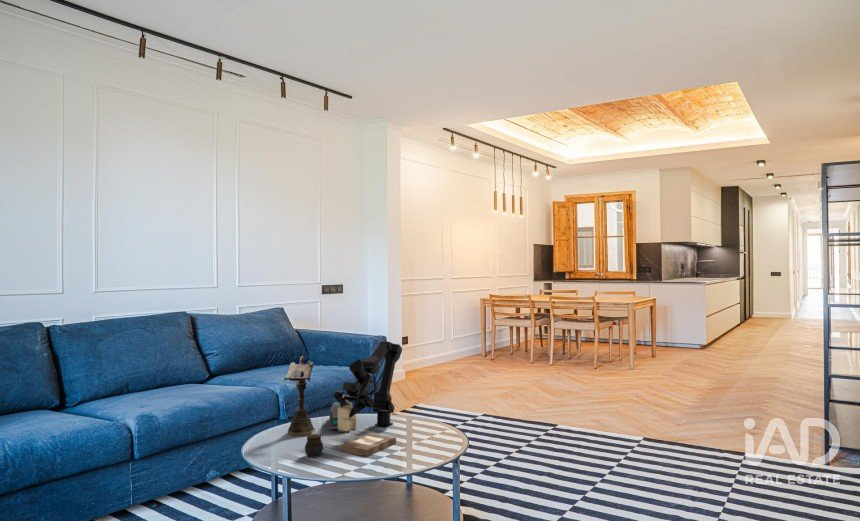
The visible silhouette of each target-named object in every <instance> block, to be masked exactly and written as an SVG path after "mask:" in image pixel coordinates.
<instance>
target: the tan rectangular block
mask: <svg viewBox="0 0 860 521" xmlns="http://www.w3.org/2000/svg"><path fill="white" fill-rule="evenodd" d="M353 406H354V405H352V406H348V405H346V406H343V407H340V408H338V429H337V431H338V432H340V433H346V434H349V433H350V432H351V431H352V432H353V431H356V429H357V413H356V414H355V415H354V416H352V417H351V418H350V417H349V415H350V412H351V410H352V408H353Z"/></svg>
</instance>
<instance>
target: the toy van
mask: <svg viewBox="0 0 860 521" xmlns="http://www.w3.org/2000/svg"><path fill="white" fill-rule="evenodd" d="M347 403H348V404H349V406H353V404H352V401H348V402H347ZM338 408H340V403H339V402H338V401H335V402H332V403H331V407H330V413H329V420H328V428H329V429H330V430H331V431H332V430H334V429H335V430H336V429H337V430H338Z"/></svg>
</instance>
